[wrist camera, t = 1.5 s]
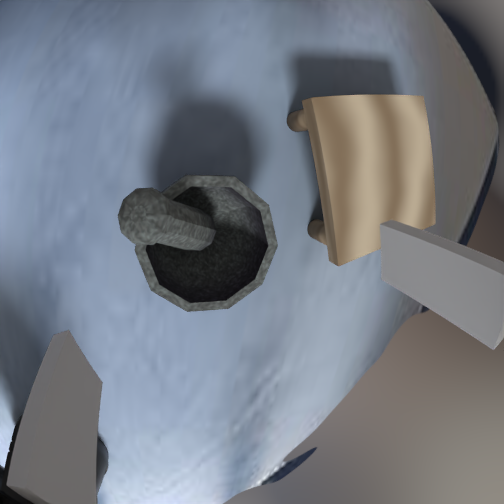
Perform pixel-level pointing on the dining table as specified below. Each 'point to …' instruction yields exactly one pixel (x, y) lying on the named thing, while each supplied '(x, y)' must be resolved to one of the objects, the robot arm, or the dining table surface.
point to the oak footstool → (367, 168)
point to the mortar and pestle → (200, 240)
